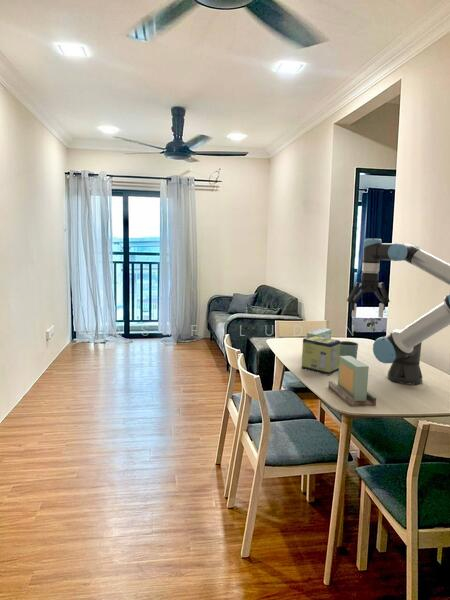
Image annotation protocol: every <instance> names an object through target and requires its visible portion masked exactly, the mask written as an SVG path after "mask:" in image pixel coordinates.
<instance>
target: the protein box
mask: <svg viewBox="0 0 450 600" xmlns="http://www.w3.org/2000/svg"><path fill="white" fill-rule="evenodd" d="M340 342H341V340H339V339H332V338H331V339H328V338H322V337H316V336H311V337H308V338H307V337H305V338H302V354H301V355H302V357H301V370H305V369H306V371H309V370H310V371H311V372H313V371H314V373H317V372H318V374H323V375H326V376H331V375H332V374H334V373H337V372H339V350H340ZM310 371H309V372H310Z"/></svg>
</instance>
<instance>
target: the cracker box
mask: <svg viewBox="0 0 450 600" xmlns="http://www.w3.org/2000/svg"><path fill="white" fill-rule="evenodd" d="M369 369H370V368H369V366H368V365H367V364H365V363H364V362H362V361H361V360H359V359H355V358H354V357H352V356H340V358H339V370H338V374H337V375H338V376H337V385H338V386H339V387H340V388H341V389H342V390H344V391H345V392H346V393H347V394H349V395H350V396H351V397H352V398H354V401H366V397H367V392H368V384H369V383H368V381H369Z"/></svg>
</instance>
